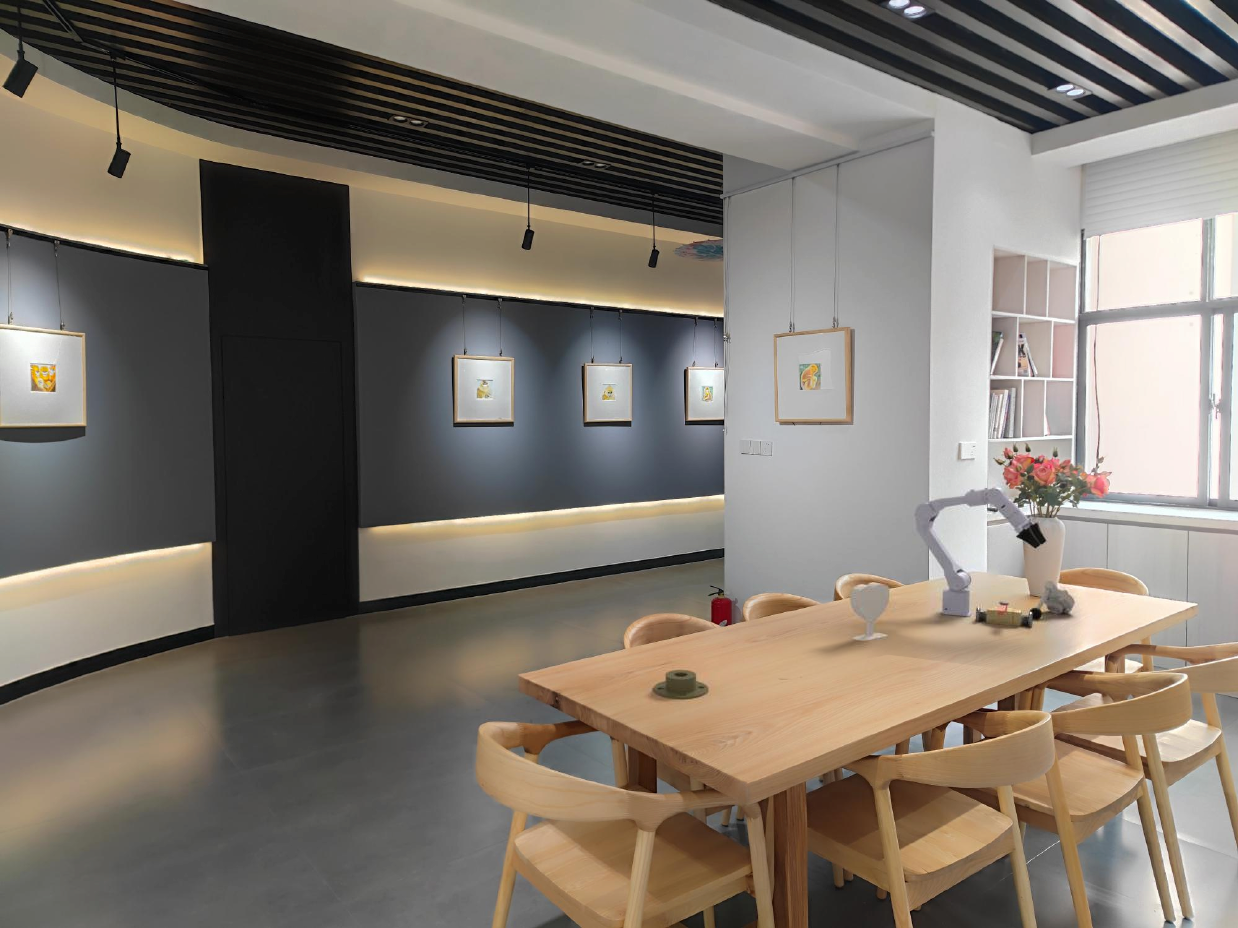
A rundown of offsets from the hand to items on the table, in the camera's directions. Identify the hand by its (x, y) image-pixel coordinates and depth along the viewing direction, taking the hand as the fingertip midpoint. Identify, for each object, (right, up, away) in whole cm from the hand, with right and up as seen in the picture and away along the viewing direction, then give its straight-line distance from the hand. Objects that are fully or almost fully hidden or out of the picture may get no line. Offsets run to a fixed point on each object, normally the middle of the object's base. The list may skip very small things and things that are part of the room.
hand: (1041, 544), depth 286 cm
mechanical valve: (+10, -28, +14) cm, 33 cm away
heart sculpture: (-64, -30, -12) cm, 72 cm away
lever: (-14, -23, -1) cm, 27 cm away
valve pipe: (-11, -30, +4) cm, 32 cm away
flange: (-133, -34, -63) cm, 151 cm away
